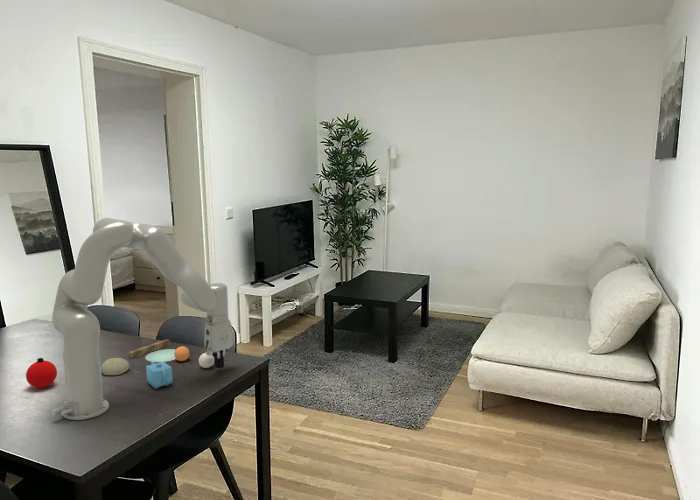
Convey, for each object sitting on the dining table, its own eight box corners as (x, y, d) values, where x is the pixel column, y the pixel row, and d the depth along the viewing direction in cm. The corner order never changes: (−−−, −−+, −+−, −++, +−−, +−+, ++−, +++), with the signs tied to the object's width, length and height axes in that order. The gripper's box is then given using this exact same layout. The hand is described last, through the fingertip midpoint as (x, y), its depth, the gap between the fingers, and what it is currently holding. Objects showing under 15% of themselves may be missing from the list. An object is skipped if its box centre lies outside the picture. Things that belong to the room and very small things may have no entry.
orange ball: (181, 364, 198) (180, 350, 197) (171, 361, 200) (170, 347, 200) (192, 359, 202) (192, 346, 201) (182, 357, 205) (182, 343, 204)
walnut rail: (132, 359, 203) (131, 353, 202) (128, 358, 204) (128, 352, 203) (169, 345, 218) (169, 339, 218) (166, 344, 219) (166, 339, 219)
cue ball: (206, 371, 191) (205, 356, 190) (195, 368, 194) (195, 353, 193) (217, 366, 196) (217, 352, 195) (207, 363, 199) (206, 349, 198)
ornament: (63, 384, 179) (61, 356, 177) (36, 394, 171) (33, 365, 170) (48, 379, 184) (45, 351, 182) (21, 388, 176) (18, 360, 174)
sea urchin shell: (121, 373, 185) (105, 356, 185) (108, 386, 187) (92, 370, 187) (136, 363, 194) (121, 347, 194) (123, 376, 196) (109, 361, 196)
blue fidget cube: (143, 380, 183) (142, 360, 182) (160, 376, 187) (159, 356, 186) (156, 392, 174) (155, 370, 173) (174, 387, 178) (173, 365, 177)
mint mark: (161, 364, 197) (161, 364, 197) (137, 357, 204) (137, 357, 204) (190, 353, 209) (190, 353, 209) (166, 347, 216) (166, 346, 216)
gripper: (208, 325, 180) (211, 376, 183) (240, 314, 193) (241, 362, 195) (193, 321, 184) (196, 371, 187) (225, 311, 197) (227, 358, 199)
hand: (219, 367), depth 191 cm, fingers closed
